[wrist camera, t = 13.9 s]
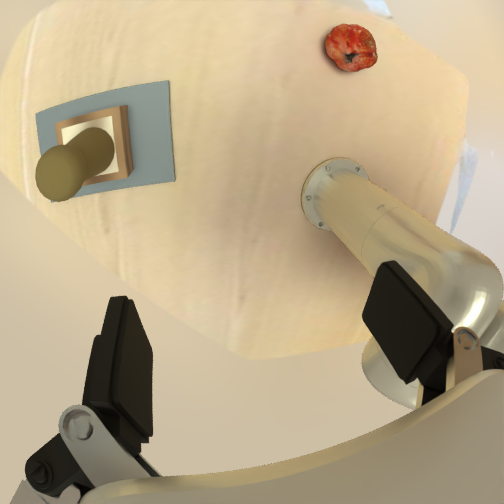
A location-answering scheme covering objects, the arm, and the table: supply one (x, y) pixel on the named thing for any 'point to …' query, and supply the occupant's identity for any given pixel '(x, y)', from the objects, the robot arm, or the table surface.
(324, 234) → the table surface
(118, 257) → the table surface
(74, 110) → the board
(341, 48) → the pomegranate
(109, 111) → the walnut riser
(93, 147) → the cork
